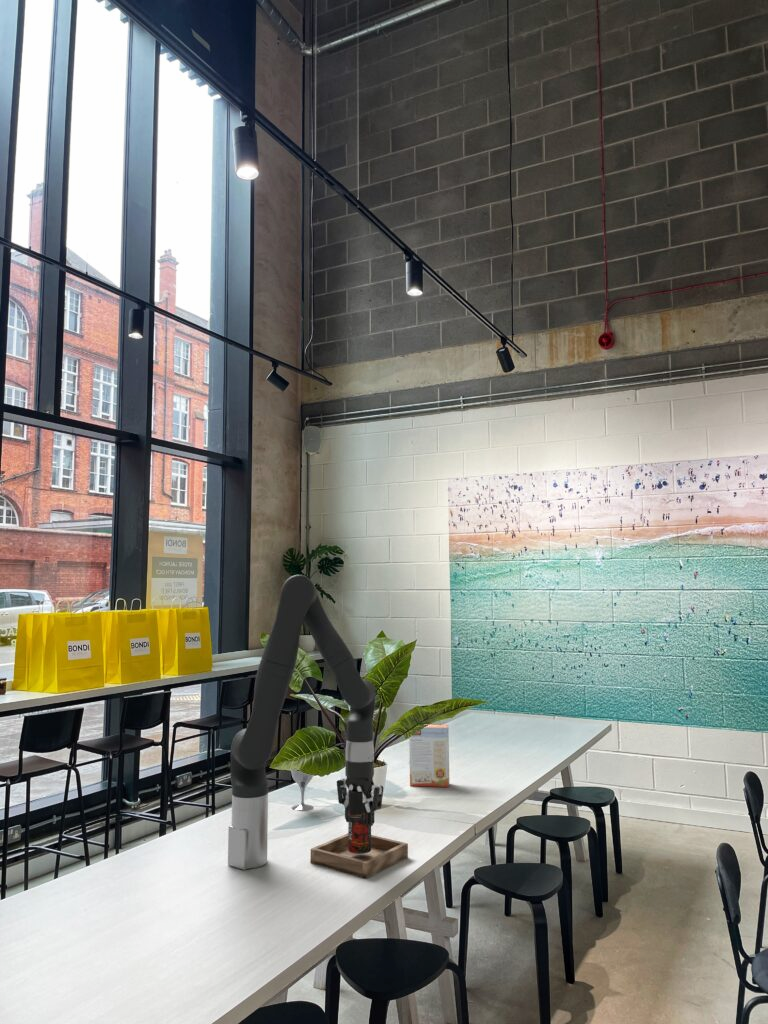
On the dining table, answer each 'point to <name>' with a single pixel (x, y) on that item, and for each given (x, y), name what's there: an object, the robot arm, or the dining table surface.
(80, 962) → the dining table surface
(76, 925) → the dining table surface
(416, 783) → the cracker box
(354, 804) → the deodorant
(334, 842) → the tray
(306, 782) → the wine glass
